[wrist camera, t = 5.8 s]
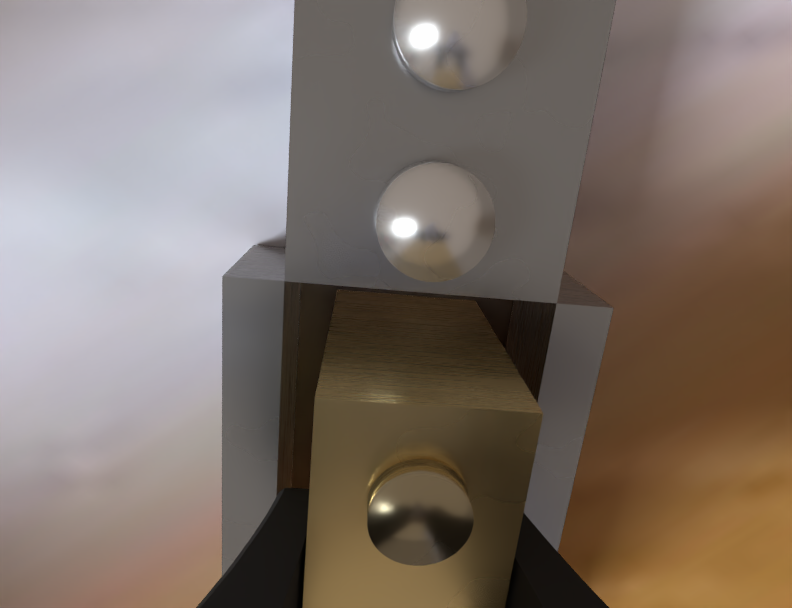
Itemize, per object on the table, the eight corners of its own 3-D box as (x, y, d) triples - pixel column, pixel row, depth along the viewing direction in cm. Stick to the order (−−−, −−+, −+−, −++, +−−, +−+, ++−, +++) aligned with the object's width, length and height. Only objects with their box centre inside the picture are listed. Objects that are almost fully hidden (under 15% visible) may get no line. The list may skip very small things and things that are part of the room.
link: (474, 299, 12) (553, 429, 7) (432, 589, 14) (465, 846, 9) (337, 289, 12) (311, 413, 7) (317, 584, 14) (286, 844, 9)
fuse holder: (615, 14, 10) (712, -32, 7) (470, 747, 16) (493, 885, 13) (259, -29, 10) (211, -97, 7) (244, 741, 16) (214, 885, 13)
